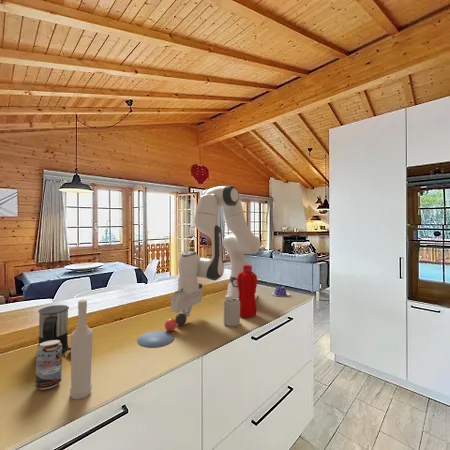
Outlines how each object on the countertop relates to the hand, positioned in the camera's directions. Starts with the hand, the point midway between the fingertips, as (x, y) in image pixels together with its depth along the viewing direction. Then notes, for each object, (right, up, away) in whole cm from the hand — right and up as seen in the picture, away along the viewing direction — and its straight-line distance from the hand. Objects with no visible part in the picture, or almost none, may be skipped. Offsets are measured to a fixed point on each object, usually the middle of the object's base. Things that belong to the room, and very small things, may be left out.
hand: (186, 316), depth 124 cm
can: (+21, -3, -1) cm, 21 cm away
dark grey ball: (-2, 0, -4) cm, 5 cm away
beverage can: (-31, -3, -49) cm, 58 cm away
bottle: (-21, -3, -52) cm, 56 cm away
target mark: (-9, -2, -19) cm, 21 cm away
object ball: (-5, 0, -11) cm, 12 cm away
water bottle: (+29, -3, +10) cm, 31 cm away
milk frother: (-38, -2, -30) cm, 49 cm away
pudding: (+54, -3, +50) cm, 74 cm away
